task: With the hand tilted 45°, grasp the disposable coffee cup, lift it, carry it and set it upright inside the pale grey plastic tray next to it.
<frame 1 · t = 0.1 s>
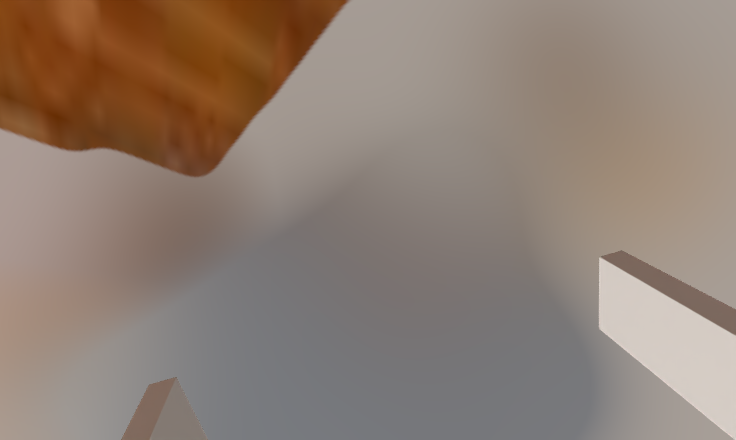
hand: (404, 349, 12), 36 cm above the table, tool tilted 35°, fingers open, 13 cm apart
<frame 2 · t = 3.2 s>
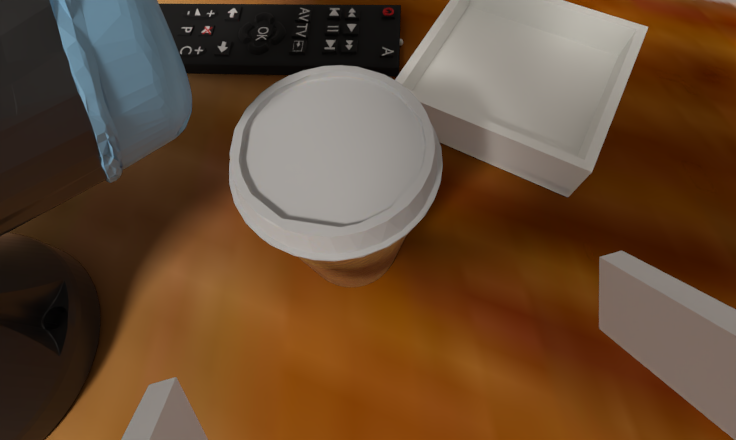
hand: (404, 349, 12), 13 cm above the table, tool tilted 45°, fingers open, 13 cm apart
disposable coffee cup: (352, 244, 27), on the table
tray: (508, 90, 32), on the table
remote control: (232, 48, 36), on the table
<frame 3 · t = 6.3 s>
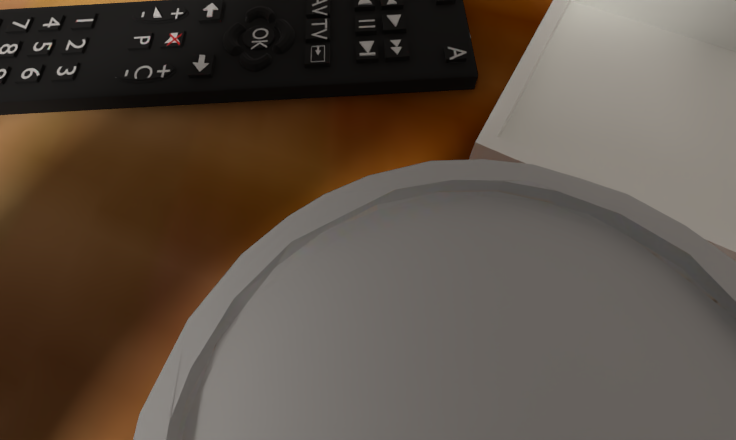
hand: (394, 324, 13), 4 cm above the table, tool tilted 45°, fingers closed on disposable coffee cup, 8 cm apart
disposable coffee cup: (415, 422, 15), on the table, touching gripper
tray: (648, 134, 20), on the table
remote control: (214, 64, 24), on the table
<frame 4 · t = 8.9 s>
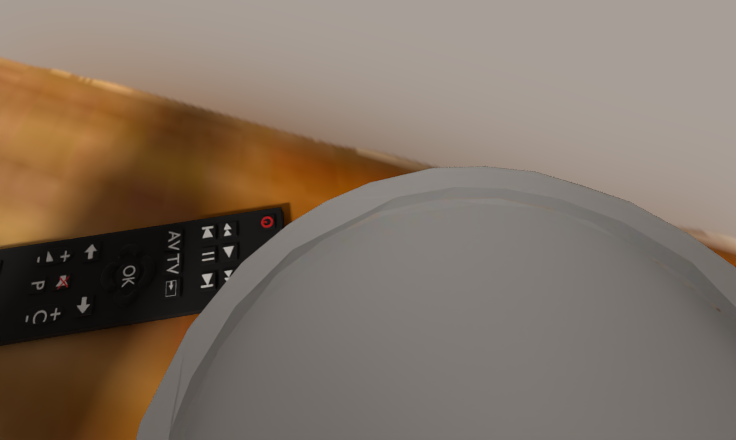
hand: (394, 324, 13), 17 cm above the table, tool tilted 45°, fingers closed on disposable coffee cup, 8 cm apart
disposable coffee cup: (416, 426, 15), point 13 cm above the table, touching gripper
remote control: (100, 285, 32), on the table
when the fingers open (6 cm above the table, at t = 12.0 s): disposable coffee cup drops 1 cm, resting on tray.
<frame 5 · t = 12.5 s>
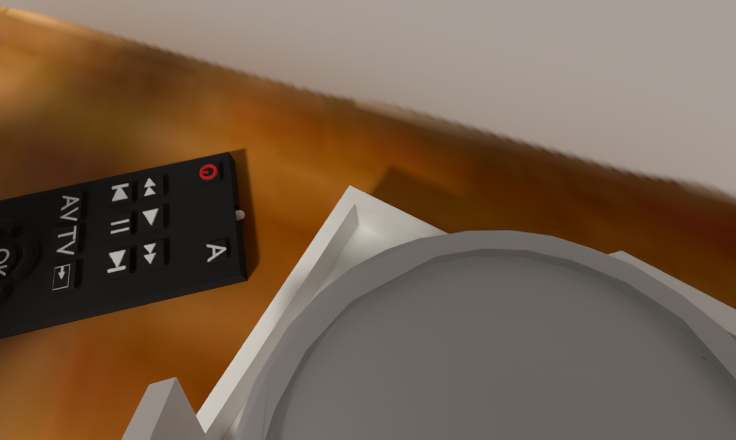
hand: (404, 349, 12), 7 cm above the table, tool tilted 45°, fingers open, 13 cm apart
disposable coffee cup: (431, 435, 16), point 1 cm above the table, touching tray
tray: (412, 418, 17), on the table
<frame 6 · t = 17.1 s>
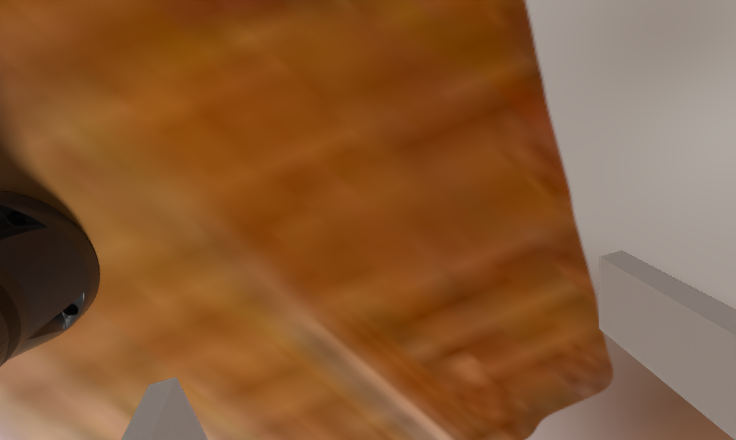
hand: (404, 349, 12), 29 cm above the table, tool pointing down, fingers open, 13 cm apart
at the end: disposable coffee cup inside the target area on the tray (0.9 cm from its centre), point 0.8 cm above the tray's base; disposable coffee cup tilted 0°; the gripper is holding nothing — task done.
